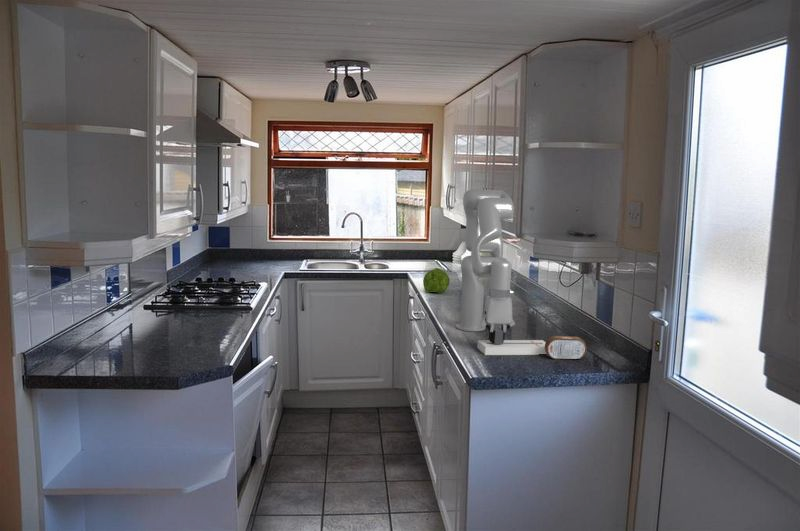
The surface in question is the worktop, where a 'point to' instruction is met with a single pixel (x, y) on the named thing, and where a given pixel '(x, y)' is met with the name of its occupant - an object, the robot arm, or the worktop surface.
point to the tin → (565, 347)
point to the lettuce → (436, 281)
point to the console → (512, 347)
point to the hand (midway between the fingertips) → (496, 341)
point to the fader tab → (498, 336)
